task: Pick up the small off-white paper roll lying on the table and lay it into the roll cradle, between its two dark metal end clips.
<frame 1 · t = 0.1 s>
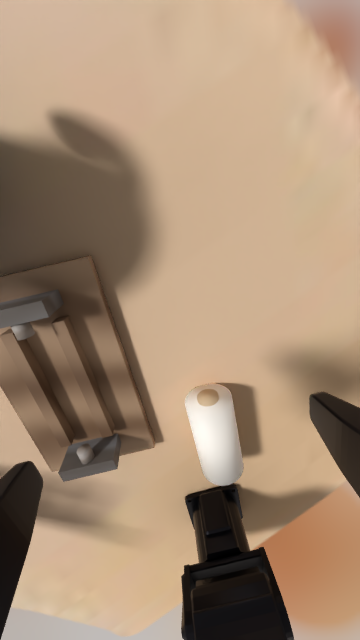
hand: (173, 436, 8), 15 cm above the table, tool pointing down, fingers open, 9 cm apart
roll: (211, 417, 27), on the table
cradle: (70, 376, 23), on the table
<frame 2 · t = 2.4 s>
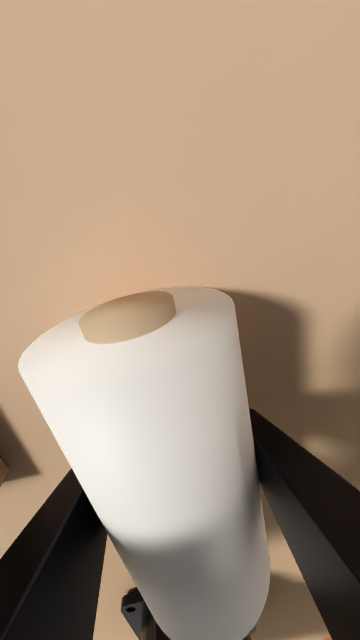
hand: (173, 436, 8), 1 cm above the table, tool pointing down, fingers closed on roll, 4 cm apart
roll: (170, 409, 9), on the table, touching gripper
when the fingers open (4 cm above the table, at t = 6.3 s): roll stays where it is, resting on cradle.
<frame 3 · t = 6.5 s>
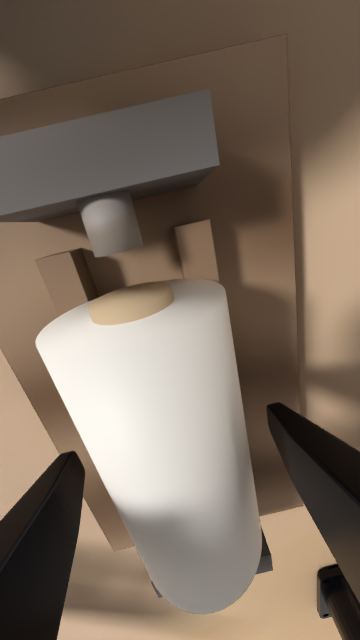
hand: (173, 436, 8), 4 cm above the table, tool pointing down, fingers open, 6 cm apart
roll: (170, 395, 10), point 2 cm above the table, touching cradle
cradle: (167, 372, 11), on the table
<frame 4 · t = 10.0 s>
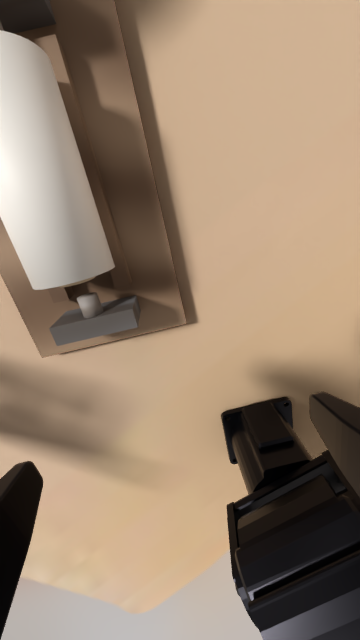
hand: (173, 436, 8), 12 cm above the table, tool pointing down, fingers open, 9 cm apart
roll: (58, 191, 14), point 2 cm above the table, touching cradle
cradle: (67, 194, 16), on the table
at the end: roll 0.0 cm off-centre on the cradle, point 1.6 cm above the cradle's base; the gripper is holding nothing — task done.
